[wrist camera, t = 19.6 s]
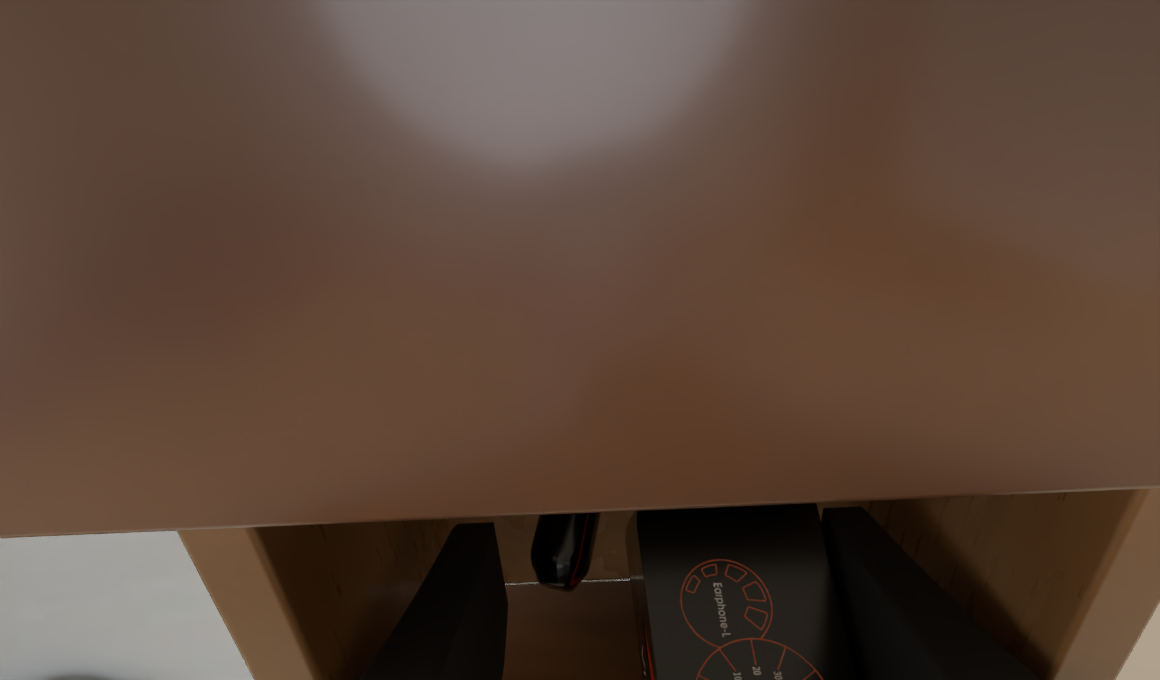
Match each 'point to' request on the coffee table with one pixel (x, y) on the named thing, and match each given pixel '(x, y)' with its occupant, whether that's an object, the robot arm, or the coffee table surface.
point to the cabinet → (570, 256)
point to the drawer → (605, 609)
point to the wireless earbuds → (717, 590)
